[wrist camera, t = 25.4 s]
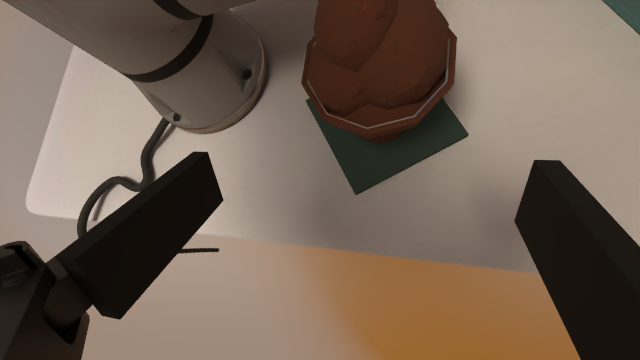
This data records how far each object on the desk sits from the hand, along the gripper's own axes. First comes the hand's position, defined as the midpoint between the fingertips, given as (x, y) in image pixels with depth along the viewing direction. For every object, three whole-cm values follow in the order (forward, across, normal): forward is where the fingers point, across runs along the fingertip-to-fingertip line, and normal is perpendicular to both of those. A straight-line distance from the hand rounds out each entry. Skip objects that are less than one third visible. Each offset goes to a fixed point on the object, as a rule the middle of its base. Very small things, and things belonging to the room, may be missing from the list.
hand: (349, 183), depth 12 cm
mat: (+19, 0, -4) cm, 20 cm away
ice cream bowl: (+19, 0, -4) cm, 19 cm away
